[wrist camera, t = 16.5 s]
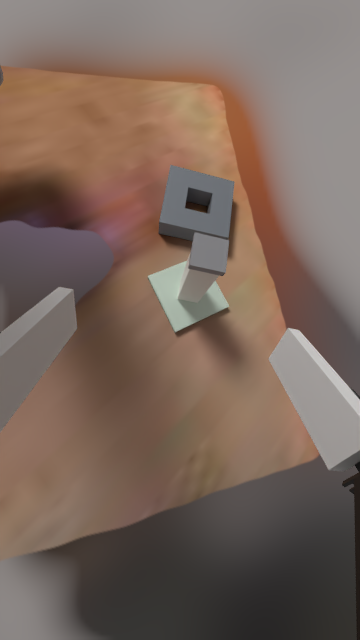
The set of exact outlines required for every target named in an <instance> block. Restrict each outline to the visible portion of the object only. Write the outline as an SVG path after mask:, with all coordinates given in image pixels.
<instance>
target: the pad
mask: <svg viewBox="0 0 360 640" xmlns="http://www.w3.org/2000/svg"><path fill="white" fill-rule="evenodd" d="M186 263H187V261H185V262H182V263H180V264H177V265H175V266H172V267H170V268H167V269H165V270H162V271H159V272H157V273H154V274H152V275H149V276H148V279H149V282H150V284H151V286H152V288H153V290H154V292H155V294H156V296H157V298H158V300H159V302H160V304H161V306H162V308H163V310H164V312H165V314H166V316H167V318H168V320H169V322H170V324H171V326H172V328H173V330H174V333H175V332H177V331H179V330H181V329H183V328H185V327H188V326H190V325H192V324H194V323H196V322H198V321H200V320H202V319H204V318H206V317H209V316H211V315H213V314H215V313H217V312H219V311H221V310H223V309H225V308H227V307H229V305H228V303H227V301H226V300H225V298H224V296H223V294H222V292H221V290H220V288H219V287H218V285H217V283H216V281H214V283H213V284H212V285H211V287H210V288H209V289H208V290H207V292H206V293H205V294H204V295H203V297H202V298H201V299H200V301H199V302H198V303H195V302H190V301H185V300H180V299H177V298H178V292H179V286H180V280H181V277H182V275H183V272H184V269H185V266H186Z"/></svg>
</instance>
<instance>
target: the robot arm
mask: <svg viewBox="0 0 360 640" xmlns="http://www.w3.org/2000/svg"><path fill="white" fill-rule="evenodd" d="M2 82H3V73H2V69H1V66H0V85H1V84H2ZM76 330H77V321H76V310H75V300H74V290H73V289H68V288H63V287H58V288H57V289H56V290H54V291H53V292H52V293H50V294H49V295H48V296H47V297H45V298H44V299H43V300H42V301H40V302H39V303H38V304H37V305H35V306H34V307H33V308H31V309H30V310H29V311H28V312H26V313H25V314H24V315H23V316H21V317H20V318H19V319H17V320H16V321H15V322H14V323H12V324H11V325H10V326H9V327H7V328H6V329H5V330H4V331H2V332H0V432H1V431H2V429H3V428H4V427H5V425H6V424H7V423H8V421H9V420H10V418H11V417H12V416H13V414H14V413H15V412H16V410H17V409H18V408H19V406H20V405H21V404H22V402H23V401H24V400H25V398H26V397H27V396H28V394H29V393H30V392H31V390H32V389H33V388H34V386H35V385H36V384H37V382H38V381H39V379H40V378H41V377H42V375H43V374H44V373H45V371H46V370H47V369H48V367H49V366H50V365H51V363H52V362H53V361H54V359H55V358H56V357H57V355H58V354H59V353H60V351H61V350H62V349H63V347H64V346H65V344H66V343H67V342H68V340H69V339H70V338H71V336H72V335H73V334H74V332H75V331H76ZM269 361H270V363H271V364H272V366H273V368H274V370H275V372H276V374H277V375H278V377H279V379H280V381H281V383H282V385H283V387H284V388H285V390H286V392H287V394H288V396H289V398H290V399H291V401H292V403H293V405H294V407H295V409H296V411H297V412H298V414H299V416H300V418H301V420H302V422H303V423H304V425H305V427H306V429H307V431H308V433H309V435H310V436H311V438H312V440H313V442H314V444H315V446H316V447H317V449H318V451H319V453H320V455H321V456H322V459H323V460H324V462H325V464H326V466H327V468H328V469H329V470H335V471H346V470H348V469H349V468H351V467H353V466H354V465H355V466H356V468H357V470H358V471H359V473H357V474H355V475H354V476H352V477H350V478H348V479H346V480H345V481H343V484H342V485H343V486H344V487H346V486H348V485H350V484H354V487H353V488H351V489H350V490H349V491H350V492H352V493H353V494H354V498H355V499H354V502H355V556H356V557H355V558H356V608H357V609H356V613H357V640H360V397H359V396H358V395H357V393H356V392H355V391H354V390H352V389H351V388H350V387H349V386H348V385H346V383H345V382H344V381H343V380H342V379H341V378H340V377H339V375H338V374H337V373H336V372H335V371H334V370H333V369H332V367H331V366H330V365H329V364H328V363H327V362H326V360H325V359H324V358H323V357H322V356H321V355H320V354H319V353H318V351H317V350H316V349H315V348H314V347H313V346H312V344H311V343H310V342H309V341H308V340H307V339H306V338H305V337H304V335H303V334H302V333H301V332H300V331H299V330H295V329H290V328H288V329H287V331H286V332H285V334H284V335H283V337H282V339H281V340H280V342H279V343H278V345H277V346H276V348H275V349H274V351H273V353H272V354H271V356H270V357H269Z"/></svg>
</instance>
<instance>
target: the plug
mask: <svg viewBox="0 0 360 640" xmlns="http://www.w3.org/2000/svg"><path fill="white" fill-rule="evenodd" d="M228 247H229V240H225V239H221V238H217V237H212V236H208V235H204V234H200V233H196V232H195V233H194V236H193V241H192V247H191V252H190V255H189V258H188V261H187V263H186V266H185V269H184V272H183V275H182V277H181V280H180V286H179V292H178V298H177V299H180V300H185V301H190V302H195V303H198V302H199V301H200V299H201V298H202V297H203V295H204V294H205V293H206V292H207V290H208V289H209V288H210V287H211V285H212V284H213V283H214V281H215V280H216V279H217V278H218V276H219V275H220V276H223V275H224V274H225V273H226V265H227V256H228Z"/></svg>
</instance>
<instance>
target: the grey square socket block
mask: <svg viewBox="0 0 360 640" xmlns="http://www.w3.org/2000/svg"><path fill="white" fill-rule="evenodd" d="M233 190H234V181H230V180H226V179H222V178H218V177H215V176H211V175H207V174H203V173H199V172H196V171H192V170H188V169H184V168H180V167H177V166H173V165H171V166H170V171H169V176H168V181H167V186H166V191H165V196H164V201H163V206H162V211H161V216H160V221H159V234H163V235H168V236H172V237H177V238H181V239H186V240H190V241H193V236H194V233H195V232H196V233H200V234H204V235H208V236H212V237H217V238H221V239H225V240H228V238H229V229H230V219H231V210H232V200H233ZM186 201H188V202H192V203H196V204H201V205H205V206H208V209H207V213H203V212H199V211H195V210H191V209H186V208H185V204H186Z"/></svg>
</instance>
